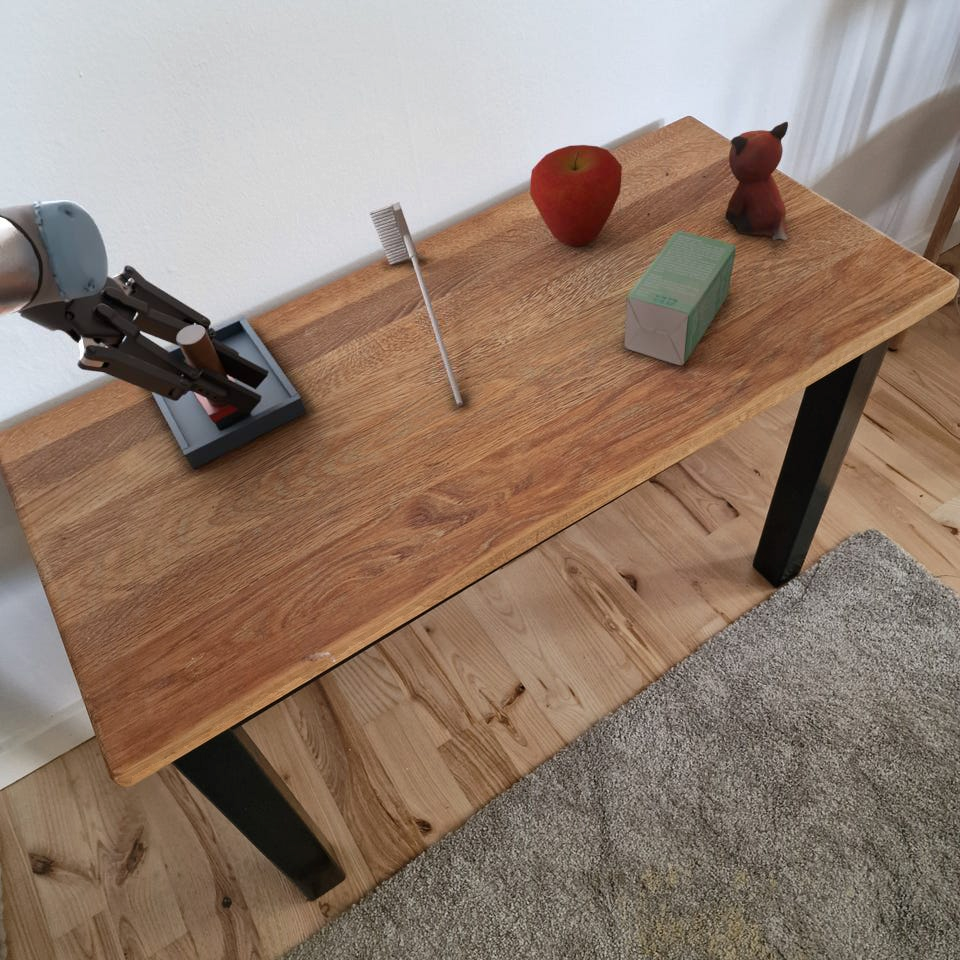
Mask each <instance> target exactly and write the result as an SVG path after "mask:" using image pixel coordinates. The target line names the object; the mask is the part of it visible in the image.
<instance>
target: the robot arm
mask: <svg viewBox="0 0 960 960" xmlns="http://www.w3.org/2000/svg"><path fill="white" fill-rule="evenodd" d="M108 261H109V260H108V253H107V248H106V245H105V242H104V239H103V236H102V234H101V231H100V229H99V226H98V224H97V223H96V221H95V219H94V218H93V216H92V215H91V213H90V212H89V211H88V210H86V208H85V207H84V206H82V205H80V203H77V202H76V201H73V200H69V199H62V200H51V201H41V200H38V201H33V202H31V203H25V204H19V205H13V206H12V205H11V206H3V207H0V318H2V317H4V316H7V315H11V314H15V313H18V314H20V317H21V318H24V319H25V320H27V321H30V322H32V323H34V324H36V325H38V326H40V327H42V328H45V329H46V330H48V331H51V332H56V331H62V332H63V333H64V334H66V335H67V336H69V337H70V338H71V339H72V340H73V341H74V342H75V343H77V344H78V347H79V351H80V357H78V360H77V362H76V365H77V367H78V368H79V369H80V370H83V371H89V372H96V373H104V374H106V375H109V376H111V377H113V378H116V379H118V380H121V381H123V382H125V383H128V384H131V385H133V386H136V387H139V388H140V389H144V390H146V391H148V392H150V393H152V392H153V393H156V394H158V395H161V396H163V397H166V398H168V399H171V400H173V401H178V400H179V399H180V398H181V396H183V395H185V394H187V392H188V391H192V392H195V393H197V394H199V395H201V396H203V397H205V398H207V399H209V400H211V401H213V402H215V403H221V402H222V401H223V402H225V403H227V404H229V405H231V406H233V407H235V408H237V409H239V410H241V411H243V412H245V413H247V414H250V413H251V411H252V410H253V409H254V408H255V407H256V406H257V405H258V403H259V402H260V401H261V398H262V396H261V395H259V394H257V393H255V392H253V391H251V390H249V389H247V388H245V387H243V386H241V385H239V384H237V383H235V382H233V381H231V380H229V379H228V378H226V377H224V376H222V375H220V374H218V373H216V372H214V371H212V370H210V369H208V368H206V367H204V368H203V369H202V370H201V372H200V373H199V371H198V370H196V369H195V368H193V367H192V366H190V365H189V364H187V363H185V362H184V361H182V360H181V359H179V358H178V357H176V356H175V355H173V354H171V353H170V352H168V351H167V349H165V348H164V347H162V346H161V345H159V344H158V343H156V342H155V341H153V340H151V339H150V338H148V337H147V336H145V335H143V334H142V333H144V334H147V335H150V336H152V337H155V338H157V339H159V340H162V341H165V342H168V343H170V344H172V345H174V346H175V345H178V343H177V341H176V336H177V334H178V332H179V331H180V330H182V329H183V328H185V327H187V326H190V325H200V326H202V327H204V328H205V330H206V332H207V334H208V336H209V338H210V340H211V342H212V345H213V347H214V349H215V351H216V353H217V355H218V357H219V359H220V361H221V364H222V366H223V368H224V370H225V372H226V374H227V375H228V376H230V377H232V378H234V379H236V380H238V381H240V382H242V383H244V384H246V385H248V386H250V387H252V388H254V389H257V387H258V386H259V385H260V384H261V383H262V382H263V381H264V379H265V378H266V377H267V375H268V372H269V371H267V370H265V369H263V368H262V367H260V366H258V365H256V364H254V363H252V362H250V361H248V360H246V359H244V358H243V357H241V356H239V353H238V352H237V351H236V350H234V349H233V348H230V347H229V346H226V345H225V344H223V343H221V342H219V341H217V340H215V339H214V336H215V335H216V332H215V330H214V329H213V328H214V327H213V328H212V327H210V326H211V324H212V322H211V320H210V319H209V318H208V317H207V316H205V315H203V314H201V313H200V312H199V311H197V310H195V309H193V308H192V307H191V306H190V305H187V304H186V303H184V302H182V301H181V300H179V299H178V298H176V297H174V296H173V295H171V294H170V293H168V292H166V291H164V290H162V289H161V288H160V287H158V286H156V285H154V284H153V283H151V282H150V281H148V280H147V279H146V278H145V277H144V276H143V275H142V274H141V273H140V272H139V271H137V270H136V268H134V267H133V266H132V265H125V266H124V267H123V268H122V270H121V271H120V273H118V274H116V275H115V276H110V275H108V274H109V262H108ZM178 346H179V345H178ZM181 375H183V376H181Z"/></svg>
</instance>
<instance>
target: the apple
mask: <svg viewBox="0 0 960 960" xmlns="http://www.w3.org/2000/svg"><path fill="white" fill-rule="evenodd" d="M622 173H623V166H622V164H621V163H620V162H619V160H618V159H617V158H616V157H615V156H614V155H613V154H612V153H611V152H610V151H609V150H608V149H606V148H603V147H600V146H597V145H588V144H575V145H568V146H567V145H566V146H564V147H561V148H557V149H555V150H553V151H551V152H549V153H546V154H545V155H544V156H543V158H541V159H540V160H539V161H538V162H537V163H536V164H535V166H534V167H533V168H532V169H531V174H530V184H529V186H530V187H529V195H530V197H531V199H532V201H533V203H534V205H535V207H536V209H537V211H538V213H539V214H540V216H541V218H542V220H543V222H544V223H545V225H546V226H547V228H548V230H549V232H550V233H551V235H552V236H553V238H554V239H556V241H559V242H560V243H562V244H563V245H566V246H568V247H572V248H573V247H575V248H577V247H582V246H585V245H587V244H589V243H590V242H592V241H593V240H595V239H596V238H598V236H599V235H600V233H601V232H602V230H603V229H604V228H605V225H606V223H607V222H608V220H609V218H610V216H611V214H612V212H613V210H614V208H615V205H616V203H617V201H618V199H619V196H620V193H621V186H622Z"/></svg>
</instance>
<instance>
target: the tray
mask: <svg viewBox="0 0 960 960" xmlns="http://www.w3.org/2000/svg"><path fill="white" fill-rule="evenodd" d="M213 329H214V330H215V332H216V335H215V336H214V339H215V340H217V341H219V342H221V343H223V344H225V345H226V346H229V347H230V348H233V349H234V350H236V351H237V352H238V353H239V356H241V357H243V358H244V359H246V360H248V361H250V362H252V363H254V364H256V365H258V366H260V367H262V368H263V369H265V370H267V371H269V372H268V375H267V377H266V378H265V379H264V381H263V382H262V383H261V384H260V385H259V386H258V387H257V389H254V388H252V387H250V386H248V385H246V384H244V383H242V382H240V381H238V380H236V379H234V378H233V379H234V380H235V382H236V383H237V384H239V385H241V386H243V387H245V388H247V389H249V390H251V391H253V392H255V393H257V394H259V395H261V396H262V398H261V401H260V402H259V403H258V405H257V406H256V407H255V408H254V409H253V410H252V411H251V414H249V415H247V416H245V417H243V418H242V419H240V420H238V421H236V422H234V423H232V424H230V425H228V426H226V427H224V428H222V429H220V430H218V428H217V427H216V425H215V424H214V423H213V422H212V421H211V419H210V418H209V416H208V415H207V413H206V412H205V410H204V409H203V407H202V406H201V404H200V403H199V401H198V400H197V398H196V397H195V395H194V394H193V392H192V391H188V392H187V394H185V395H183V396H181V398H180V399H179V400H178V401H173V400H171V399H168V398H166V397H163V396H161V395H158V394H156V393H153V392H151V394H152V396H153V398H154V400H155V402H156V403H157V405H158V407H159V409H160V411H161V413H162V415H163V418H164V419H165V421H166V423H167V425H168V427H169V429H170V430H171V432H172V434H173V436H174V438H175V440H176V442H177V444H178V446H179V447H180V449H181V451H182V453H183V455H184V456H185V457H184V458H186V460H187V462H188V464H189V465H190V467H191V468H192V469H196V468H197V467H199V466H202V465H203V464H205V463H207V462H209V461H211V460H213V459H215V458H217V457H219V456H222V455H223V454H225V453H227V452H229V451H231V450H233V449H235V448H237V447H240V446H241V445H244V444H246V443H248V442H250V441H252V440H253V439H255V438H258V437H260V436H262V435H263V434H265V433H267V432H269V431H272V430H273V429H275V428H278V427H280V426H282V425H284V424H285V423H287V422H290V421H291V420H293V419H295V418H298V417H299V416H302V415H304V414H306V413H307V409H306V405H305V404H304V402H303V401H304V400H303V398H302V397H301V395H300V394H299V392H298V391H297V390H296V388H295V387H294V385H293V384H292V383H291V381H290V380H289V378H288V376H287V375H286V374H285V373H284V371H283V370H282V368H281V367H280V365H279V364H278V362H277V361H276V359H275V358H274V357H273V355H272V354H271V352H270V351H269V350H268V348H267V347H266V345H265V344H264V343H263V341H262V340H261V338H260V337H259V335H258V334H257V333H256V331H255V330H254V328H253V327H252V325H251V324H250V322H249V321H248V319H247V318H246V317H245V316H244V314H242V315H239V316H237V317H235V318H232V319H230V320H228V321H226V322H224V323H222V324H219V325H217V326H216V327H213ZM166 350H167V351H168V352H170V353H171V354H173V355H175V356H176V357H178V358H179V359H181V360H182V361H184V362H185V363H187V364H188V362H187V360H186V358H185V356H184V354H183V352H182V350H181V348H180V346H178V345H175V344H174V346H173V345H172V346H170V347H169V348H166ZM181 376H182V375H181Z"/></svg>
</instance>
